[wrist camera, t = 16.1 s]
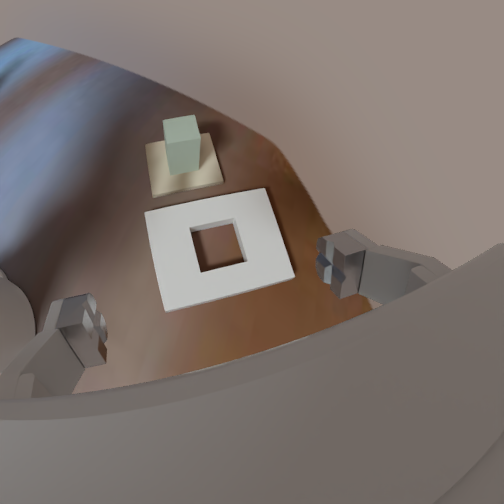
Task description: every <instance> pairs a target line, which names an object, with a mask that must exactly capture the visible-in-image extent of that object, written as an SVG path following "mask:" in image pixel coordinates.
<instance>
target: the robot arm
mask: <svg viewBox="0 0 504 504" xmlns="http://www.w3.org/2000/svg"><path fill="white" fill-rule="evenodd" d="M316 249H317V250H318V251H319V255H318V257H317V258H316V270H317V274H318V275H319V277H320V279H321V280H322V281H323V282H325V283H328V284H330V289H331V290H332V291H333V292H334V294H335V295H336V296H337V297H338V298H339V299H341V298H344V297H347V296H350V295H353V294H356V293H359V294H360V295H363V296H365V297H367V298H370V299H372V300H374V301H376V302H379V303H381V304H383V305H382V306H380V307H378V308H375V309H373V310H371V311H369V312H366V313H364V314H362V315H359V316H357V317H355V318H352V319H350V320H347V321H345V322H342V323H340V324H337V325H335V326H332V327H330V328H327V329H325V330H322V331H319V332H317V333H314V334H311V335H309V336H306V337H303V338H300V339H298V340H295V341H292V342H289V343H286V344H283V345H280V346H277V347H274V348H271V349H268V350H265V351H262V352H259V353H256V354H253V355H250V356H246V357H243V358H240V359H236V360H233V361H230V362H226V363H223V364H219V365H216V366H212V367H208V368H204V369H201V370H197V371H193V372H189V373H185V374H180V375H176V376H172V377H168V378H163V379H159V380H154V381H149V382H144V383H139V384H134V385H129V386H123V387H118V388H112V389H106V390H99V391H93V392H85V393H78V394H72V392H73V390H74V388H75V386H76V384H77V383H78V381H79V379H80V377H81V375H82V374H83V372H84V370H85V369H84V368H88V367H93V366H98V365H102V364H106V356H107V349H106V347H105V345H104V343H105V342H106V340H107V328H106V323H105V320H104V318H103V316H102V314H101V313H100V312H99V311H97V310H96V301H95V299H94V297H93V295H92V294H91V293H87V294H83V295H78V296H74V297H69V298H64V299H60V300H56V301H53V302H52V303H51V306H50V309H49V312H48V315H47V318H46V321H45V324H44V328H43V331H42V332H39V333H38V334H37V335H36V336H35V321H34V315H33V311H32V308H31V305H30V303H29V301H28V299H27V297H26V296H25V294H24V293H23V291H22V290H21V289H20V288H19V287H18V286H16V285H15V284H13V283H12V282H10V281H9V280H8V279H7V277H6V275H5V273H4V272H3V271H2V270H1V269H0V504H504V244H503V243H502V244H501V243H500V244H497V245H495V246H493V247H492V248H490V249H489V250H487V251H485V252H484V253H482V254H480V255H479V256H477V257H475V258H474V259H472V260H470V261H468V262H467V263H465V264H463V265H461V266H460V267H458V268H456V269H454V270H451V269H450V268H448V267H447V266H446V265H444V264H443V263H441V262H440V261H438V260H437V259H435V258H433V257H429V256H424V255H421V254H417V253H413V252H409V251H405V250H400V249H396V248H392V247H388V246H384V245H381V246H378V245H377V244H376V243H374V242H373V241H371V240H370V239H368V238H367V237H365V236H364V235H362V234H361V233H359V232H358V231H356V230H355V229H349V230H346V231H342V232H339V233H335V234H332V235H328V236H324V237H321V238H318V241H317V247H316Z"/></svg>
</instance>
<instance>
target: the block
mask: <svg viewBox="0 0 504 504" xmlns="http://www.w3.org/2000/svg"><path fill="white" fill-rule="evenodd" d="M163 127H164V138H165V148H166V156H167V161H168V167H169V172H170V176H171V175H176V174H181V173H186V172H191V171H197V170H199V157H200V141H201V137H200V133H199V130H198V126H197V122H196V118H195V115H190V116H184V117H178V118H172V119H167V120H163Z"/></svg>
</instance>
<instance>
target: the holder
mask: <svg viewBox="0 0 504 504" xmlns="http://www.w3.org/2000/svg"><path fill="white" fill-rule="evenodd" d="M144 213H145V219H146V225H147V230H148V236H149V241H150V246H151V251H152V256H153V261H154V266H155V271H156V275H157V280H158V284H159V288H160V293H161V297H162V301H163V305H164V309H165V312H171V311H175V310H179V309H183V308H187V307H191V306H195V305H199V304H203V303H207V302H211V301H215V300H219V299H222V298H226V297H230V296H234V295H237V294H241V293H245V292H249V291H252V290H256V289H260V288H263V287H267V286H270V285H274V284H277V283H281V282H284V281H288V280H291V279H292V278H294V277H295V276H294V272H293V269H292V266H291V263H290V260H289V257H288V254H287V251H286V248H285V245H284V242H283V239H282V236H281V233H280V230H279V228H278V225H277V222H276V219H275V216H274V213H273V210H272V207H271V204H270V202H269V199H268V196H267V193H266V190H265V188H262V189H256V190H250V191H244V192H239V193H233V194H228V195H223V196H218V197H213V198H207V199H203V200H198V201H193V202H188V203H183V204H179V205H174V206H170V207H165V208H161V209H156V210H152V211H148V212H144ZM231 223H233V225H234V229H235V232H236V235H237V239H238V242H239V245H240V249H241V252H242V255H243V259H244V262H243V263H239V264H235V265H231V266H227V267H223V268H218V269H214V270H210V271H206V272H202V273H201V272H200V268H199V264H198V261H197V257H196V253H195V249H194V245H193V241H192V236H191V232H194V231H199V230H203V229H208V228H212V227H217V226H221V225H226V224H231Z"/></svg>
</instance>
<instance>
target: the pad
mask: <svg viewBox="0 0 504 504" xmlns="http://www.w3.org/2000/svg"><path fill="white" fill-rule="evenodd" d="M200 137H201V141H200V157H199V170H197V171H191V172H186V173H181V174H176V175H171V176H170V172H169V167H168V161H167V156H166V148H165V140H164V141H159V142H154V143H149V144H145V148H146V156H147V163H148V170H149V177H150V183H151V190H152V196H153V198H155V197H160V196H164V195H169V194H173V193H178V192H183V191H188V190H193V189H198V188H203V187H208V186H213V185H219V184H223V178H222V174H221V171H220V167H219V164H218V161H217V157H216V154H215V150H214V147H213V144H212V140H211V137H210V133H204V134H200Z"/></svg>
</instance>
